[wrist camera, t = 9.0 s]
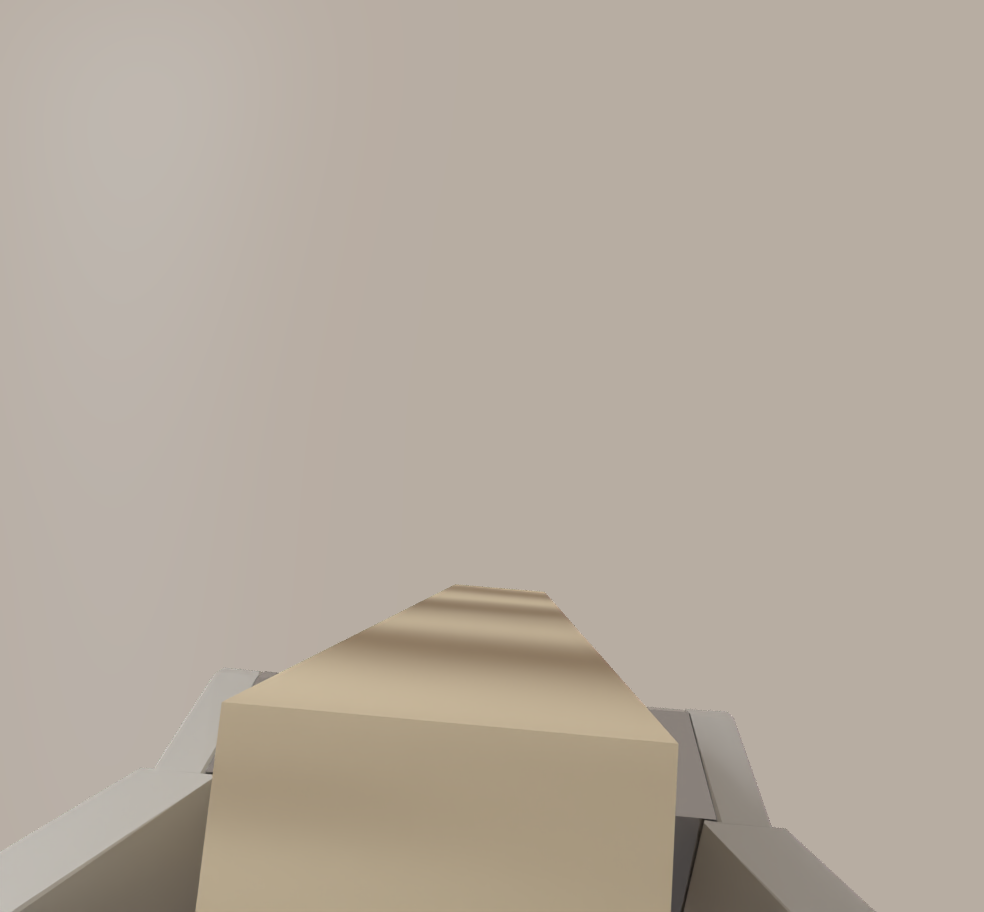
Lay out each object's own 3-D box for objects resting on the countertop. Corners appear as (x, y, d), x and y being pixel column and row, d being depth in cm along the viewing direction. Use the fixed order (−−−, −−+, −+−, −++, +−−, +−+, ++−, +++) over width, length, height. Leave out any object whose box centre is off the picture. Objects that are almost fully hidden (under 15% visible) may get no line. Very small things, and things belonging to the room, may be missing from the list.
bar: (654, 1271, 4) (678, 744, 5) (157, 1212, 4) (220, 701, 5) (537, 683, 24) (544, 591, 25) (447, 676, 24) (455, 584, 25)
